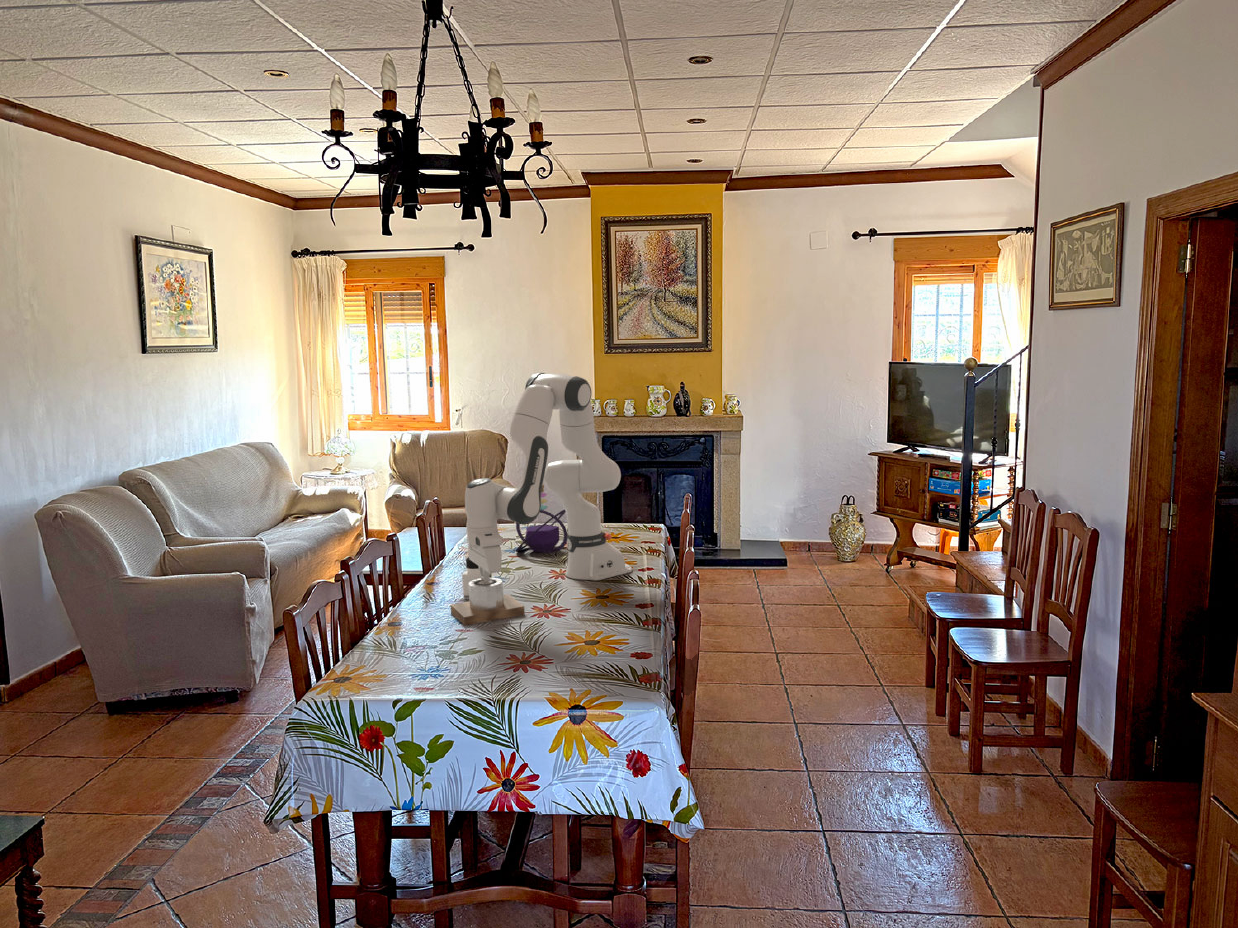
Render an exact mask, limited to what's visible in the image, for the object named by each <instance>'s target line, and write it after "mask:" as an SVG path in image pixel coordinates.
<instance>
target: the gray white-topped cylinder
mask: <svg viewBox="0 0 1238 928" xmlns="http://www.w3.org/2000/svg"><path fill="white" fill-rule="evenodd" d="M492 584H494V581H493V580H490V581H489V582H486V583H485V582H484V581H479V582H477V585H480V586H484V585H492Z"/></svg>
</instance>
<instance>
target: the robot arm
mask: <svg viewBox="0 0 1238 928" xmlns="http://www.w3.org/2000/svg"><path fill="white" fill-rule="evenodd" d="M591 399H592V387H591V386H590V383H589V382H588V380H586V379H584V378H583V377H580V376H573V375H569V374H564V373H545V372H539V373H534V374H532V375H530V377H529V378H528V380H527V381H526V382H525V388H524V391H523V393H522V394H521V397H520V398H519V400H518V403H517V404H516V408H515V409H514V413H513V415H512V420H511V422H510V425H509V426H510V427H509V435H510V438H511V440H512V442H513V443H514V445H516V447H518V448H519V449H520V450H521V451H522V452H523V453H524V457H525V464H524V470H523V475H522V480H521V485H520V486H519V487H518V488H517V487H512V486H507V485H502V484H500V483H497V482H494V481H493V480H492V479H491V478H488V477H482V478H477V479H473V480H471V481H469V483H467V484H466V488H465V492H464V509H465V511H464V512H465V514H466V517H467V518H466V519H467V520H466V523H465V524H466V525H465V526H466V540H467V548H468V550H467V551H468V552H467V553H468V557H469V559H470V560H471V561H472V562H474V563H475V564H477V565H478V566H479V571H480V574H481V580H482V581H484V582H485V583H486V582H489V581H490V573H491V574H495V573H500V572H501V571H502V547H501V545H503V537H502V536H501V534H500V532H499V529H498V520H499V519H502V520H505V521H511V522H514V523H515V524H516V523H519V524H520V525H522V526H523V525H524V526H525V525H530V524H531V523H533V522H534V521H536V519H537V517H538V516H539V514H540V513H539V512H540V509H541V505H542V504H541V499H542V497H541V493H542V492H541V490H542V485H544V486H545V487H546V488H547V490H548V491H550V493H553V494H554V495H555V496H556V497H557V498H558V499H559V500H560V502H561V504H562V505H563V508H564V510H565V511H566V512H565V515H566V522H567V523H566V524H567V543H566V546H567V551H568V555H567V565H566V571H565V573H564V574H565V577H567V578H570V579H573V580H590V581H601V580H604V579H608V578H612V577H618V576H621V575H624V574H630V573H632V571H633V568H632V567H631V565H629V564H627V563H626V561H625V558H624V557H625V556H624V554H623V553H622V552H621V550H619V549H617V548H616V547H615V546H613V545H612V544H610V543H609V542H607V540H608V541H611V539H612V538H613V536H612V534H611V533H609V532H604V531H602V524H601V511H600V509H599V508H598V506H597V505H595V504H593V503H592V502H589V501H588V500H586V499H585V498H584V497H583V495H582V494H583V493H603V492H608V491H613V490H615V489H617V487H618V486H619V484H620V481H621V478H622V473H621V469H620V467H619V465H618V464H617V463H616V461H614V460H612V459H611V458H609V457H608V456H607V455H606V453H604V451H602V449H601V447H600V444H599V443H598V441H597V435H596V429H595V428H596V427H595V418H594V416H595V415H594V411H593V406H592V401H591ZM553 410H559V414H558V415H559V425H560V437H561V444H562V445H563V448H565V449H566V451H569V452H571V453H573V454H575V455H577V456H578V457H579V458H580V459H561V460H556V461H552V462H549V463H548V464H547V462H548V456H549V444H548V442H547V438H548V430H549V427H550V423H551V420H552V415H553Z"/></svg>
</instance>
